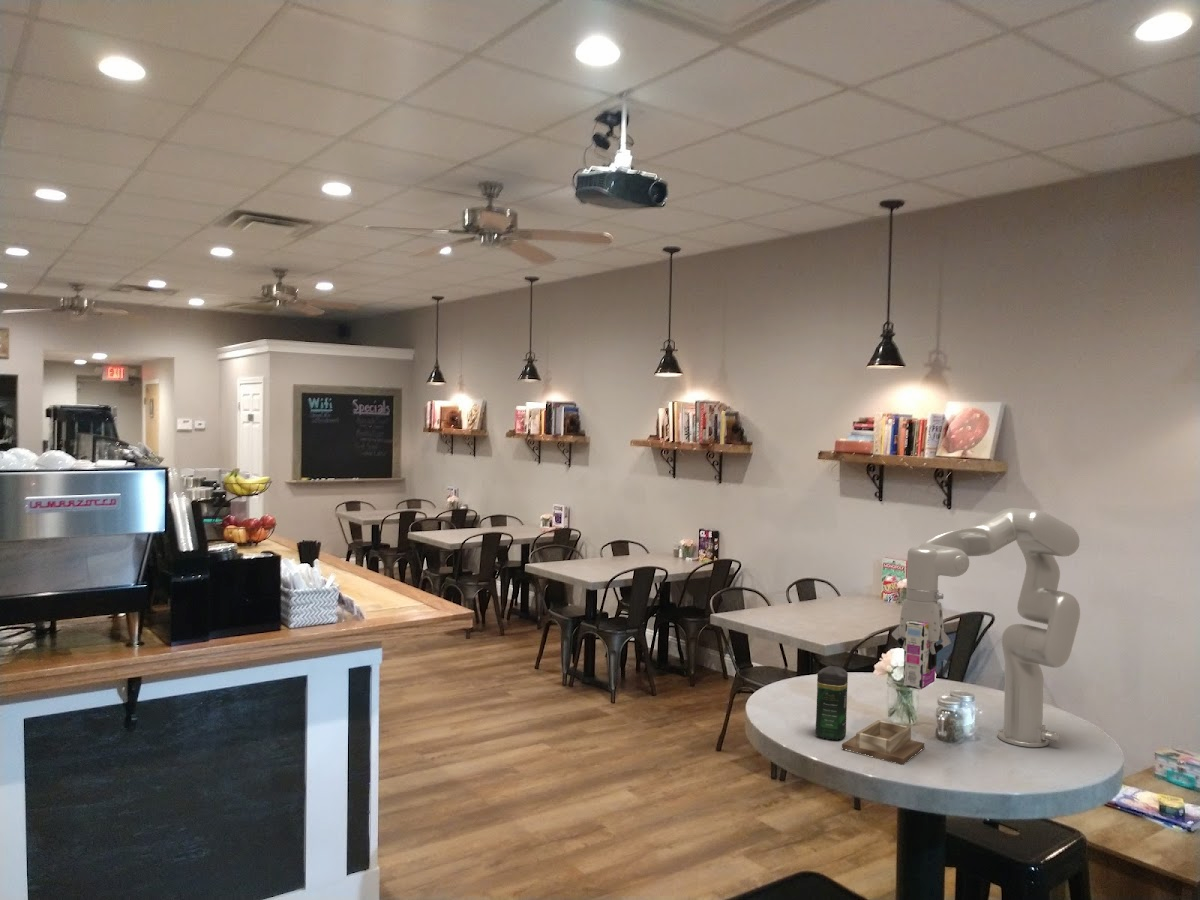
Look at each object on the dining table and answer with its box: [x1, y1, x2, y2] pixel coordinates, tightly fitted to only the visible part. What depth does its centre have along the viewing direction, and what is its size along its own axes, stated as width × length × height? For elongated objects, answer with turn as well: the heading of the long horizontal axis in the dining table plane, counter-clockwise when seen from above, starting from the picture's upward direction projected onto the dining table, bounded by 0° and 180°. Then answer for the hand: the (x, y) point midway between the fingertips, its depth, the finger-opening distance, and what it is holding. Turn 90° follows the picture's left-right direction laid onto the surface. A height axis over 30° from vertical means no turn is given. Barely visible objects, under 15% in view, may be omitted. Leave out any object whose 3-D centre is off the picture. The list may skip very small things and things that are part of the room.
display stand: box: [841, 719, 925, 765], centre depth 229 cm, size 16×16×5 cm
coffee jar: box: [815, 665, 849, 740], centre depth 239 cm, size 10×8×19 cm
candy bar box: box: [902, 621, 936, 690], centre depth 223 cm, size 11×5×16 cm, turn 142°
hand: (920, 666), depth 223 cm, fingers closed on candy bar box, 5 cm apart
